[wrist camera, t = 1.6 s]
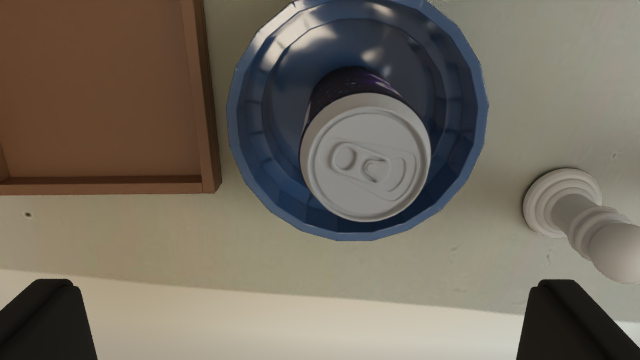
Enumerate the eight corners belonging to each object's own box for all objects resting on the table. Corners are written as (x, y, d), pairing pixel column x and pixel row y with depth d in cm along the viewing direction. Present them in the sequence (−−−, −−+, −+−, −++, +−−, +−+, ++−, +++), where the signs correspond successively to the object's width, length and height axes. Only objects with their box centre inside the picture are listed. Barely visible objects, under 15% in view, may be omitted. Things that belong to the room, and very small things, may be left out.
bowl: (469, -11, 26) (504, -19, 20) (447, 203, 31) (472, 240, 25) (236, -7, 26) (213, -13, 21) (253, 205, 31) (238, 242, 26)
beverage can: (374, 160, 29) (403, 248, 18) (296, 132, 29) (277, 205, 17) (408, 82, 27) (464, 126, 16) (326, 51, 27) (325, 73, 15)
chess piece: (505, 202, 31) (572, 271, 22) (567, 151, 29) (665, 204, 21) (549, 247, 32) (629, 328, 23) (611, 200, 30) (720, 269, 22)
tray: (198, -46, 25) (187, -52, 23) (222, 182, 30) (214, 193, 28) (-59, -41, 25) (-91, -46, 24) (8, 184, 31) (-14, 195, 29)
